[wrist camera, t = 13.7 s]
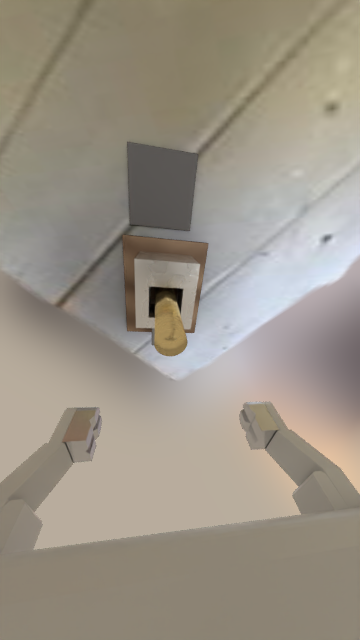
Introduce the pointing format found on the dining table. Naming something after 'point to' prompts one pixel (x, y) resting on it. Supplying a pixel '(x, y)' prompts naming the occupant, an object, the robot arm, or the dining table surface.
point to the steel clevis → (164, 285)
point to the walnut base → (158, 245)
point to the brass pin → (168, 323)
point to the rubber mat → (161, 186)
